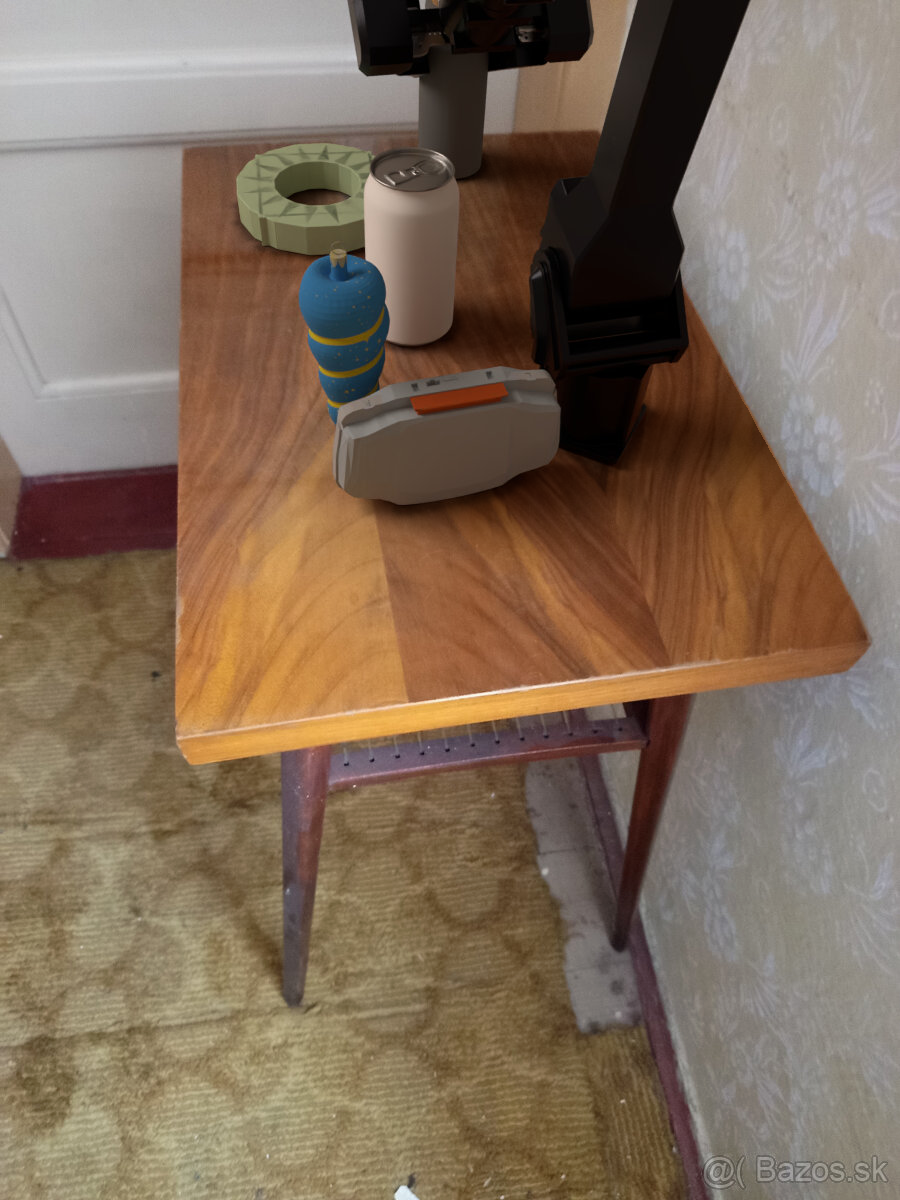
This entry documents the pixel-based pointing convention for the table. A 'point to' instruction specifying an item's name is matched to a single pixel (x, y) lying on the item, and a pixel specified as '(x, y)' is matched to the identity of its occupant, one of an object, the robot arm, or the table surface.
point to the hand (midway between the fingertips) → (449, 68)
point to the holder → (298, 223)
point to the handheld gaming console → (446, 435)
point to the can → (413, 240)
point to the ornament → (345, 325)
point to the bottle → (453, 106)
